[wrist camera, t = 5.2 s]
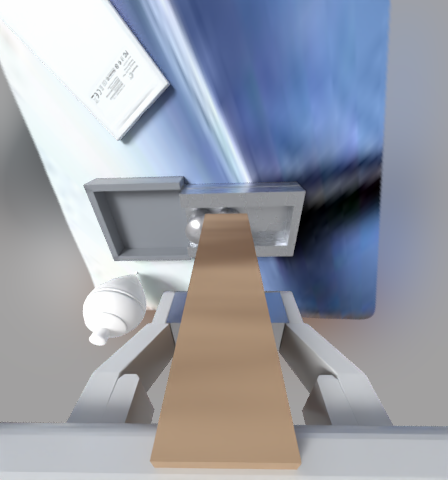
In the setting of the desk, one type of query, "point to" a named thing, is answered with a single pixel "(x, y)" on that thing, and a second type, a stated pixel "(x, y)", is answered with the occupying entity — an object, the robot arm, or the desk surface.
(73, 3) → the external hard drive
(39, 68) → the desk surface
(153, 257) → the tray
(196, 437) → the tan long rectangular block
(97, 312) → the white vase
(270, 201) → the slot block
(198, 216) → the shiny gray ball
